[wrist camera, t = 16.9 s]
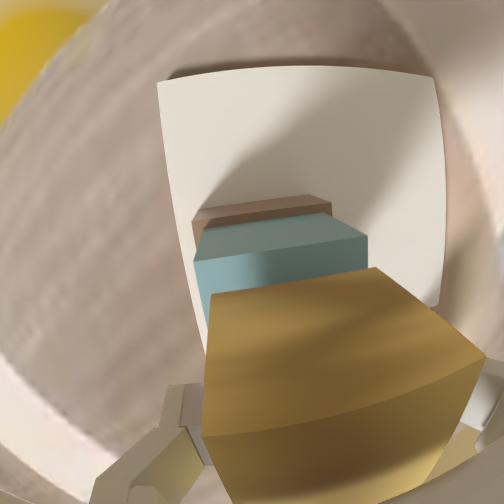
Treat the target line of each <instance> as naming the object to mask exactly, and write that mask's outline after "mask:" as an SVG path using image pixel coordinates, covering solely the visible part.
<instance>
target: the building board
mask: <svg viewBox="0 0 504 504" xmlns="http://www.w3.org/2000/svg"><path fill="white" fill-rule="evenodd" d="M157 87H158V98H159V107H160V116H161V125H162V133H163V141H164V148H165V156H166V163H167V170H168V176H169V183H170V189H171V195H172V201H173V207H174V213H175V219H176V224H177V230H178V235H179V240H180V245H181V251H182V256H183V260H184V265H185V270H186V275H187V280H188V284H189V289H190V293H191V298H192V302H193V306H194V311H195V315H196V319H197V323H198V327H199V331H200V335H201V339H202V343H203V347H204V351H205V355H206V348H207V335H208V329H207V325H206V321H205V316H204V312H203V307H202V303H201V298H200V293H199V289H198V284H197V279H196V274H195V269H194V264H193V260H194V257H195V254H196V251H197V247H198V244H199V241H200V238H201V235H202V232H203V229H208V228H214V227H221V226H227V225H234V224H241V223H248V222H255V221H262V220H269V219H276V218H284V217H291V216H299V215H307V214H314V213H322V212H324V213H326V214H328V215H330V216H331V217H333V218H335V219H337V220H339V221H341V222H343V223H345V224H347V225H349V226H351V227H353V228H355V229H356V230H358V231H360V232H362V233H364V234H366V235H368V268H372V267H377V268H378V269H379V270H381V271H382V272H383V273H385V274H386V275H387V276H389V277H390V278H391V279H393V280H394V281H395V282H397V283H398V284H399V285H401V286H402V287H403V288H405V289H406V290H407V291H409V292H410V293H411V294H412V295H414V296H415V297H416V298H418V299H419V300H420V301H421V302H423V303H424V304H425V305H426V306H428V307H429V308H430V307H433V306H437V305H438V303H439V296H440V288H441V280H442V271H443V261H444V248H445V229H446V178H445V159H444V146H443V136H442V127H441V119H440V112H439V105H438V99H437V93H436V88H435V83H434V78H432V77H427V76H422V75H416V74H410V73H403V72H396V71H389V70H380V69H370V68H358V67H342V66H275V67H259V68H246V69H236V70H227V71H219V72H212V73H205V74H199V75H193V76H187V77H181V78H176V79H171V80H166V81H162V82H157Z"/></svg>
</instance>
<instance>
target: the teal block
mask: <svg viewBox="0 0 504 504" xmlns="http://www.w3.org/2000/svg"><path fill="white" fill-rule="evenodd" d="M193 264H194V269H195V274H196V279H197V284H198V289H199V293H200V298H201V303H202V307H203V312H204V316H205V321H206V325H207V329H208V323H209V311H210V299H211V294H215V293H222V292H229V291H236V290H242V289H249V288H255V287H262V286H268V285H275V284H281V283H287V282H293V281H299V280H305V279H311V278H317V277H323V276H328V275H334V274H340V273H345V272H351V271H356V270H361V269H367V268H368V235H366V234H364V233H362V232H360V231H358V230H356V229H355V228H353V227H351V226H349V225H347V224H345V223H343V222H341V221H339V220H337V219H335V218H333V217H331V216H330V215H328V214H326V213H324V212H322V213H314V214H307V215H299V216H291V217H284V218H276V219H269V220H262V221H255V222H248V223H241V224H234V225H227V226H221V227H214V228H208V229H203V232H202V235H201V238H200V241H199V244H198V247H197V251H196V254H195V257H194V260H193Z"/></svg>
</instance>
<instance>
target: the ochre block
mask: <svg viewBox="0 0 504 504" xmlns="http://www.w3.org/2000/svg"><path fill="white" fill-rule="evenodd" d="M485 359H486V355H485V354H484V353H483V352H482V351H481V350H479V349H478V348H477V347H476V346H475V345H474V344H473V343H471V342H470V341H469V340H468V339H467V338H465V337H464V336H463V335H462V334H461V333H460V332H458V331H457V330H456V329H455V328H454V327H452V326H451V325H450V324H449V323H448V322H446V321H445V320H444V319H443V318H441V317H440V316H439V315H438V314H436V313H435V312H434V311H433V310H431V309H430V308H429V307H428V306H426V305H425V304H424V303H423V302H421V301H420V300H419V299H418V298H416V297H415V296H414V295H412V294H411V293H410V292H409V291H407V290H406V289H405V288H403V287H402V286H401V285H399V284H398V283H397V282H395V281H394V280H393V279H391V278H390V277H389V276H387V275H386V274H385V273H383V272H382V271H381V270H379V269H378V268H377V267H372V268H367V269H361V270H356V271H351V272H345V273H340V274H334V275H328V276H323V277H317V278H311V279H305V280H299V281H293V282H287V283H281V284H275V285H268V286H262V287H255V288H249V289H242V290H236V291H229V292H222V293H215V294H211V299H210V311H209V323H208V335H207V348H206V362H205V377H204V394H203V412H202V433H201V437H202V439H203V442H204V444H205V446H206V449H207V451H208V453H209V455H210V458H211V460H212V462H213V464H214V466H215V468H216V470H217V473H218V475H219V477H220V479H221V481H222V483H223V485H224V487H225V489H226V491H227V493H228V495H229V497H230V499H231V501H232V502H233V504H376V503H378V502H381V501H384V500H386V499H389V498H391V497H394V496H396V495H399V494H401V493H403V492H406V491H408V490H410V489H412V488H414V487H417V486H419V485H421V484H422V483H423V482H424V480H425V479H426V478H427V476H428V475H429V473H430V472H431V470H432V469H433V467H434V465H435V464H436V462H437V460H438V459H439V457H440V456H441V454H442V452H443V450H444V449H445V447H446V445H447V443H448V442H449V440H450V438H451V436H452V434H453V433H454V431H455V429H456V427H457V425H458V423H459V421H460V419H461V417H462V415H463V413H464V411H465V408H466V406H467V404H468V402H469V400H470V397H471V395H472V393H473V390H474V388H475V385H476V383H477V381H478V378H479V375H480V373H481V370H482V367H483V365H484V362H485Z"/></svg>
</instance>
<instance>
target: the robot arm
mask: <svg viewBox="0 0 504 504" xmlns="http://www.w3.org/2000/svg"><path fill="white" fill-rule="evenodd" d="M203 394H204V383H193V384H182V385H169V386H168V387H167V389H166V394H165V398H164V403H163V408H162V413H161V418H160V423H159V428H153V429H152V430H151V431H149V432H148V433H147V434H146V435H145V436H144V437H143V438H142V439H141V440H140V441H139V442H137V443H136V444H135V445H134V446H133V447H132V448H131V449H130V450H129V451H127V452H126V453H125V454H124V455H123V456H122V457H121V458H119V459H118V460H117V461H116V462H115V463H114V464H113V465H111V466H110V467H109V468H108V469H107V470H106V471H104V472H103V473H102V474H101V475H100V476H99V477H97V478H96V480H95V484H94V487H93V491H92V494H91V498H90V502H89V504H179V503H180V502H181V500H182V499H183V498H184V496H185V495H186V494H187V492H188V491H189V489H190V488H191V487H192V485H193V484H194V482H195V481H196V480H197V478H198V477H199V475H200V474H201V472H202V471H203V469H204V468H205V467H204V466H208V465H214V464H213V462H212V460H211V458H210V455H209V453H208V451H207V449H206V446H205V444H204V442H203V439H202V437H201V433H202V412H203ZM460 421H461V422H463V423H465V424H467V425H469V426H471V427H473V428H475V429H477V430H479V431H481V434H480V436H479V437H478V439H477V440H476V442H475V445H474V447H475V448H476V450H477V451H478V453H477V454H476V455H474V456H472V457H471V458H469V459H468V460H466V461H465V462H463V463H461V464H460V465H458V466H456V467H454V468H453V469H451V470H450V471H448V472H446V473H444V474H442V475H440V476H438V477H437V478H435V479H433V480H431V481H429V482H427V483H425V484H423V485H420V486H418V487H416V488H414V489H412V490H410V491H408V492H405V493H403V494H401V495H399V496H396V497H393V498H391V499H389V500H386V501H383V502H381V503H378V504H504V362H501V361H497V360H493V359H489V358H486V359H485V362H484V365H483V367H482V370H481V373H480V375H479V378H478V381H477V383H476V385H475V388H474V390H473V393H472V395H471V397H470V400H469V402H468V404H467V406H466V408H465V411H464V413H463V415H462V417H461V419H460ZM0 504H35V503H32V502H29V501H27V500H25V499H22V498H20V497H18V496H15V495H13V494H11V493H9V492H7V491H4V490H2V489H0Z"/></svg>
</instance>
